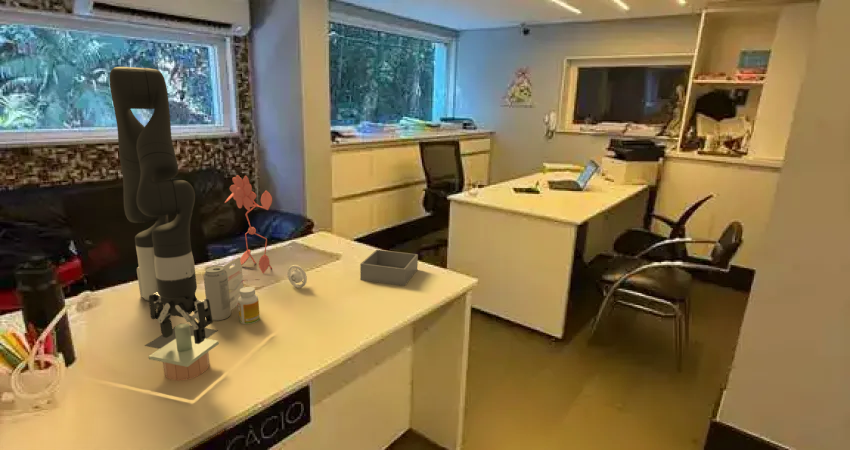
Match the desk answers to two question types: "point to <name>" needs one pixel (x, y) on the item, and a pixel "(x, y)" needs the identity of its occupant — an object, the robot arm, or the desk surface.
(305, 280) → the white round piece
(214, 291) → the energy drink can
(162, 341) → the mat
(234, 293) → the ink cartridge box
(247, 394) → the desk surface
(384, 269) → the tray
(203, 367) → the bowl
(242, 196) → the pink flower figurine
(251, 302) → the supplement bottle
